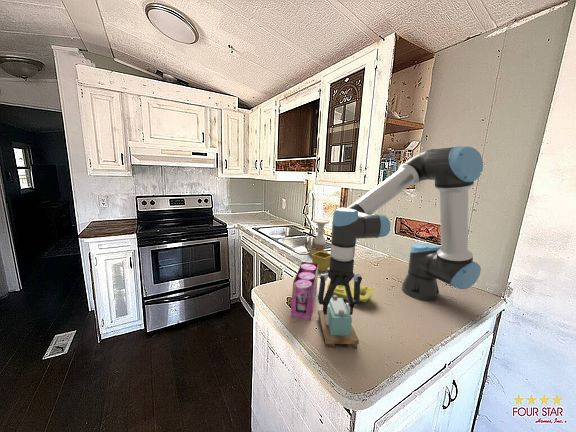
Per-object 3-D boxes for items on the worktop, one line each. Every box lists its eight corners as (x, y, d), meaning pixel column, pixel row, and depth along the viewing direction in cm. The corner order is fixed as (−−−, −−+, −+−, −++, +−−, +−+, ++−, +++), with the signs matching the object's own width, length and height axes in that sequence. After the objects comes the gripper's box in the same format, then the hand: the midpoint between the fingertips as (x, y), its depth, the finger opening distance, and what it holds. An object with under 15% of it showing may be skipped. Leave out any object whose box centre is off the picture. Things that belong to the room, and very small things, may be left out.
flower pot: (332, 269, 133) (333, 254, 131) (323, 274, 127) (324, 258, 125) (319, 265, 139) (320, 250, 137) (310, 269, 132) (311, 254, 131)
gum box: (311, 323, 85) (313, 287, 82) (289, 319, 86) (290, 284, 84) (317, 291, 108) (318, 263, 106) (299, 289, 109) (301, 261, 107)
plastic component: (324, 289, 105) (334, 273, 112) (328, 300, 109) (337, 284, 115) (368, 302, 93) (376, 283, 100) (371, 314, 96) (378, 296, 103)
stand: (344, 318, 88) (345, 310, 88) (358, 349, 73) (358, 340, 72) (317, 317, 88) (318, 310, 88) (325, 348, 72) (326, 340, 72)
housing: (350, 335, 74) (352, 314, 73) (331, 335, 74) (333, 313, 73) (340, 313, 86) (342, 294, 85) (324, 312, 86) (325, 293, 85)
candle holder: (314, 260, 147) (316, 222, 142) (308, 254, 157) (309, 219, 153) (330, 259, 150) (333, 222, 146) (323, 253, 160) (325, 218, 156)
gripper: (367, 254, 80) (360, 316, 84) (311, 252, 79) (307, 315, 83) (376, 262, 72) (368, 330, 76) (314, 260, 72) (309, 329, 76)
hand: (336, 322), depth 80 cm, fingers closed on housing, 6 cm apart
